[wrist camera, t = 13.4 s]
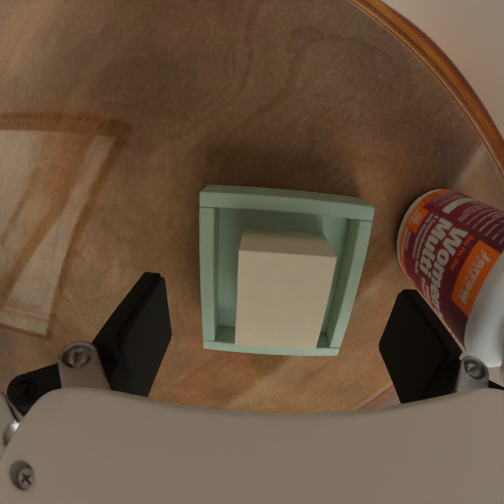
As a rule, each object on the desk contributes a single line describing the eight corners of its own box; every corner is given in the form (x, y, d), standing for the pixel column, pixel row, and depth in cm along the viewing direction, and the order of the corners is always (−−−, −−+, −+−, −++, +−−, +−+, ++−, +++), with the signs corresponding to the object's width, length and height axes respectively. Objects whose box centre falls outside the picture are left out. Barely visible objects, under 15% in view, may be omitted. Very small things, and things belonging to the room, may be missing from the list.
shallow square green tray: (208, 184, 13) (198, 191, 11) (361, 197, 13) (376, 206, 11) (209, 327, 17) (203, 348, 15) (331, 334, 17) (337, 356, 15)
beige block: (244, 227, 13) (238, 249, 11) (323, 233, 13) (337, 257, 11) (239, 310, 15) (234, 345, 13) (308, 314, 15) (315, 349, 13)
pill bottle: (389, 195, 13) (560, 308, 3) (468, 181, 12) (612, 251, 2) (393, 291, 15) (483, 440, 5) (465, 269, 14) (565, 372, 4)
